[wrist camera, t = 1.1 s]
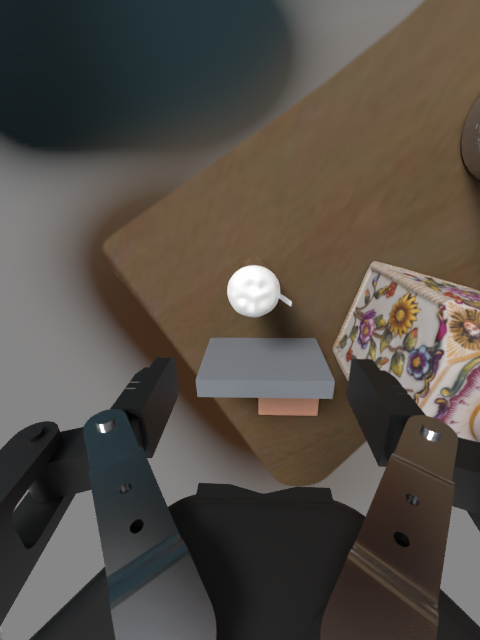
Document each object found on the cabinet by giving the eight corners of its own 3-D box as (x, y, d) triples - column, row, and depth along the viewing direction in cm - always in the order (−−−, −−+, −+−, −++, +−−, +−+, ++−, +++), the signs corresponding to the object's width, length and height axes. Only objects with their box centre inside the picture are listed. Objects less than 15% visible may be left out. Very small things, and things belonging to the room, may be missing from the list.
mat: (321, 362, 35) (322, 365, 34) (316, 412, 38) (317, 415, 37) (258, 362, 35) (258, 364, 35) (258, 411, 38) (258, 414, 38)
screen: (315, 338, 34) (334, 381, 25) (314, 352, 34) (332, 398, 26) (210, 337, 34) (195, 379, 26) (211, 351, 35) (197, 396, 27)
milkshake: (277, 294, 32) (286, 330, 23) (232, 287, 32) (221, 321, 23) (285, 255, 30) (298, 276, 21) (237, 248, 30) (228, 266, 21)
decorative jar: (327, 349, 34) (395, 484, 18) (368, 258, 30) (509, 324, 13) (417, 372, 35) (565, 525, 18) (470, 286, 30) (731, 384, 14)
